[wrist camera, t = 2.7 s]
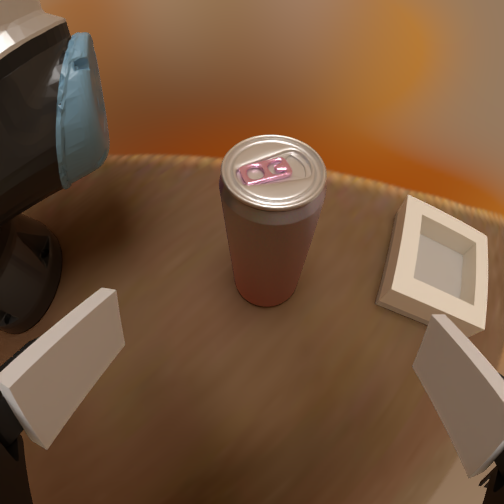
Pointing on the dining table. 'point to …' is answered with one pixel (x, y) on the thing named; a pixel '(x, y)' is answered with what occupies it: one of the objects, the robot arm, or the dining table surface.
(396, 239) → the holder
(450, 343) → the robot arm
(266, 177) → the beverage can
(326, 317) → the dining table surface
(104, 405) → the dining table surface
